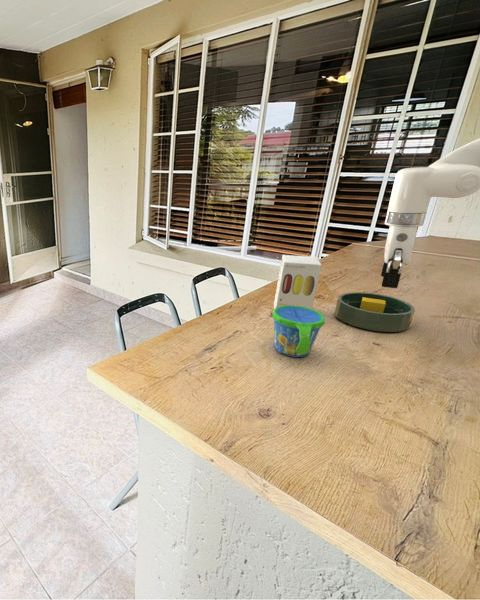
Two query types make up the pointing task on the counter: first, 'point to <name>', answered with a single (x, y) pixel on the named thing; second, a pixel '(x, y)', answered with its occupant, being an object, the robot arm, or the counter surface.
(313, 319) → the snack cup
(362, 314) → the basin
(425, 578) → the counter surface
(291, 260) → the supplement box
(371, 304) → the sponge
